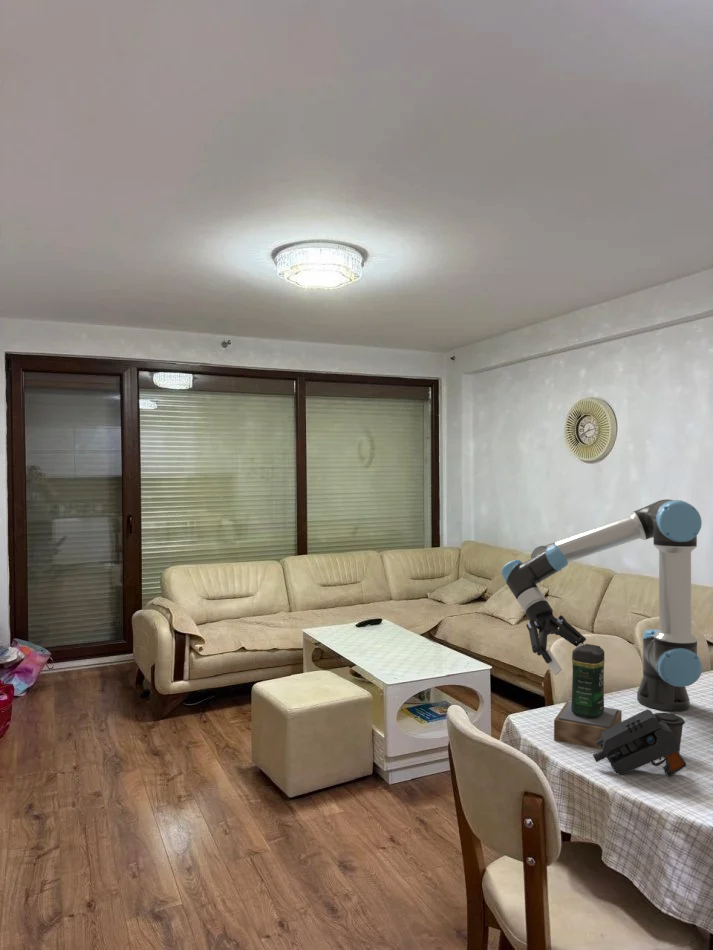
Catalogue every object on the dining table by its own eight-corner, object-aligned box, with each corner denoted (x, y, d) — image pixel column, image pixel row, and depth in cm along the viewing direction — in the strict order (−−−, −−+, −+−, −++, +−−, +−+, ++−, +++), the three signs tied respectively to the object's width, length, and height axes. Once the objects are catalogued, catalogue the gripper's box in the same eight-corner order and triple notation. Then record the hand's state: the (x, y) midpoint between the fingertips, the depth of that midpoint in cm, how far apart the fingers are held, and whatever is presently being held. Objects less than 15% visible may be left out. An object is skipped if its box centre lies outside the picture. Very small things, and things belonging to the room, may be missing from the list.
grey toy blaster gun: (694, 769, 153) (660, 711, 155) (619, 803, 157) (586, 746, 158) (687, 759, 159) (654, 703, 161) (614, 791, 163) (583, 736, 164)
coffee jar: (597, 721, 176) (597, 651, 176) (567, 714, 180) (568, 647, 181) (608, 711, 183) (608, 644, 183) (579, 705, 188) (579, 640, 188)
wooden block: (621, 730, 185) (621, 708, 185) (612, 751, 171) (612, 728, 171) (566, 720, 193) (566, 699, 193) (554, 740, 178) (554, 718, 178)
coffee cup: (684, 750, 171) (684, 712, 171) (685, 763, 164) (685, 723, 164) (650, 745, 175) (650, 707, 175) (650, 757, 167) (650, 718, 167)
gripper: (557, 609, 207) (596, 669, 194) (498, 617, 194) (536, 682, 181) (570, 595, 202) (611, 655, 190) (511, 602, 189) (551, 668, 177)
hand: (575, 668), depth 185 cm, fingers open, 13 cm apart
